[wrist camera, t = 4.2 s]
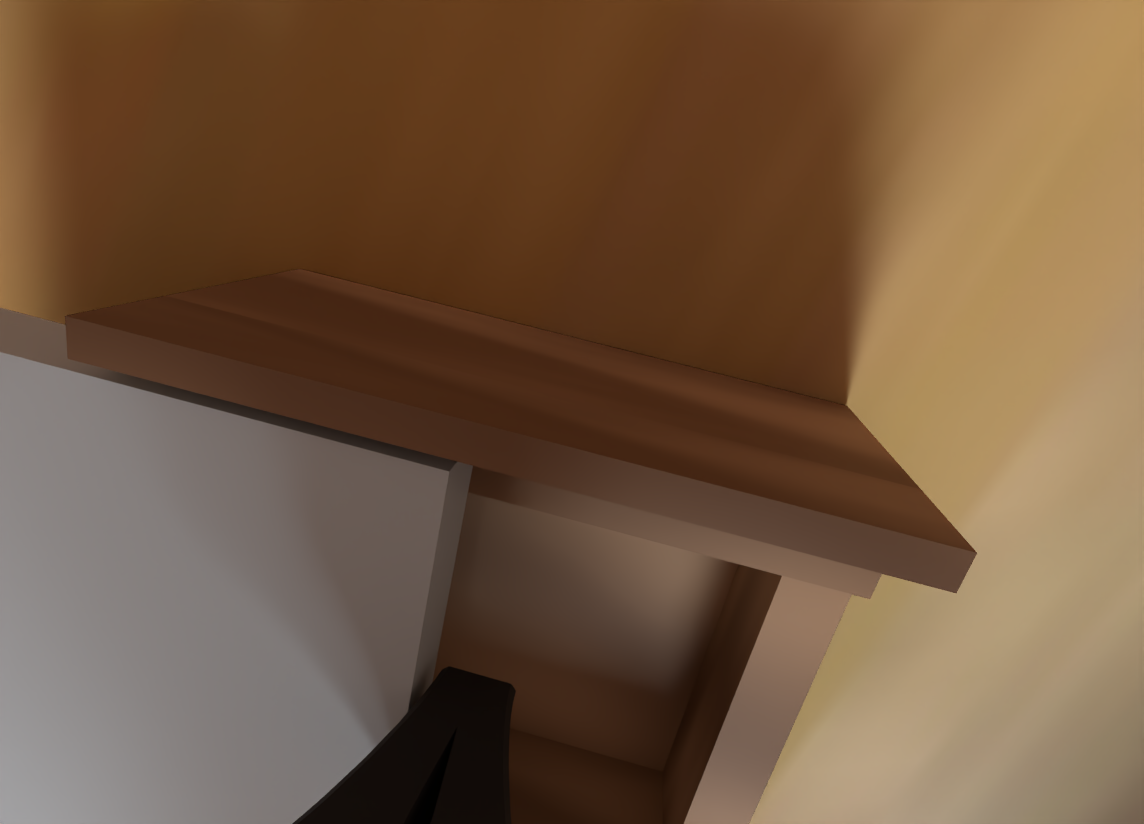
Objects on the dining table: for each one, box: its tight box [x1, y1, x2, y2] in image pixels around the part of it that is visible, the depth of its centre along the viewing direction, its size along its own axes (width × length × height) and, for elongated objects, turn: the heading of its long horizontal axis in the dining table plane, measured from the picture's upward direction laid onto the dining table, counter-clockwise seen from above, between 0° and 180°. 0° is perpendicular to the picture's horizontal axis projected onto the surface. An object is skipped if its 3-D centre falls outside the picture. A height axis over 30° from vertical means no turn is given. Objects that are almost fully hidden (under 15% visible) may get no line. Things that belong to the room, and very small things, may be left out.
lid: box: [0, 308, 473, 824], centre depth 11 cm, size 10×10×2 cm
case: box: [65, 269, 977, 824], centre depth 13 cm, size 12×12×6 cm
